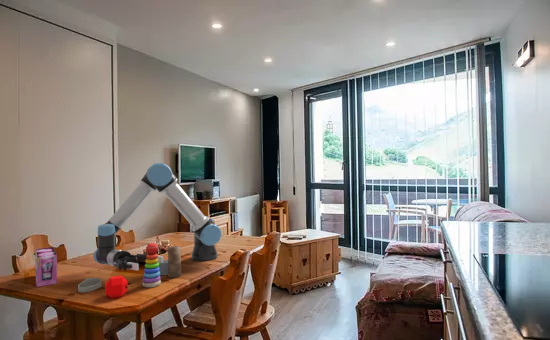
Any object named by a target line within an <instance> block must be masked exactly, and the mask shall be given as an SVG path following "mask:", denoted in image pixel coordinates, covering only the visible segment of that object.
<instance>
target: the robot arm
mask: <svg viewBox="0 0 550 340" xmlns="http://www.w3.org/2000/svg"><path fill="white" fill-rule="evenodd" d="M156 191H158V193H160V194H161V193H162V194H164V195H165V196H166V198H167V199H168V200H169V201H170V202H171V203H172V204H173V205H174V207H175V208H176V209H177V210H178V211H179V213H180V214H181V215H182V216H183V217H184V218H185V220H186V221H187V222H188V223H189V225H191V226H192V229H191V231H192V233H193V243H194V244H193V249H192V252H191V256H190V257H191V258H190V259H191V261H197V262H201V261H204V262H205V261H211V260H215V259H217V258H218V251H217V248H216V246H215V245H217V244H218V243H219V242H220V240H221V238H222V230H221V228H220V226H218V225H217V224H216V223H215V220H214V219H213V218H211V217H210V216H206V215H205V214H204V213H203V212H202V211H201V210H200V208H199V207H198V206H197V205H196V204H195V203H194V200H192V199H191V198H190V197H189V196H188V194H187V193H186V192H185V190H184V189H183V188H182V187H181V186H180V184H178V177H177V176H176V175H175V174H174V173H173V171H172V169H171V168H170V166H169V165H167V164H166V163H164V162H157V163H156V162H155V163H153V164H152V165H151V166H149V167H148V168H147V170H146V172H145V174H144V175H143V177H142V178H141V179H140V183H139V184H138V186H136V188H135V189H134V190H133V191H132V192H131V194H130V195H129V196H128V197H127V198H126V199H125V200H124V202H123V203H122V204H121V205H120V206H119V208H118V209H117V210H116V211H115V212H114V214H113V215H112V216H111V217H110V218H109V220H108V221H107V222H106V223H105V224H100V225H98V226H97V249H96V250H95V251H94V253H93V261H94V262H95V263H97V264H100V265H106V266H112V267H113V266H114V268H116V269H118V271H121V270H122V271H123V272H124V271H125V272H126V271H127V270H132V271H133V270H134V271H139V270H140V268H139V265H140V264H139V263H140V262H145V261H146V259H147V258H146V255H147V254H148V253H136V254H131V252H130V251H127V250H121V249H116V235H117V234H118V233H119V231H120V230H121V229H122V228H123V226H124V225H125V224H126V223H127V222H128V220H130V218H131V217H132V216H133V215H134V213H135V212H136V211H137V210H138V209H139V208H140V207H141V205H142V204H143V203H144V202H145V200H146V199H147V198H148V197H149V196H150V195H151V194H152V192H156ZM157 258H158V262H161V263H162V262H163V260H164V256H162V255H158V257H157Z"/></svg>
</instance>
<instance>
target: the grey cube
mask: <svg viewBox="0 0 550 340" xmlns="http://www.w3.org/2000/svg"><path fill="white" fill-rule="evenodd" d="M158 263H159V266H158V267H159V271H160V275H159V276H160V277H161V276H168V259H163V262H162V263H161V262H158Z"/></svg>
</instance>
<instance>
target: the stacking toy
mask: <svg viewBox="0 0 550 340" xmlns="http://www.w3.org/2000/svg"><path fill="white" fill-rule="evenodd" d="M158 250H159V245H158V244H156V243H154V242H151V243H148V244H147V245H146V248H145V251H146V254H147V255H146V258H147V259H146V261H144V262H145V264H144V269H143V270H144V272H143V277H142V283H141V285H142V287H143V288H156V287H159V286H160V285H161V284H162V281H161V275H160V271H159V267H158V266H159V263H158V258H157V257H158V256H159V254H158ZM159 275H160V276H159Z"/></svg>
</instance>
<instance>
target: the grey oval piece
mask: <svg viewBox="0 0 550 340" xmlns="http://www.w3.org/2000/svg"><path fill="white" fill-rule="evenodd" d="M102 286H103V285H102V279H101V278H98V277H87V278H85V279H84V280H83V281H81V282H80V283H79V284H78V286H77V287H78V290H77V291H78V292H79V293H89V292H94V291H96V290H98V289H100V288H101V287H102Z"/></svg>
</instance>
